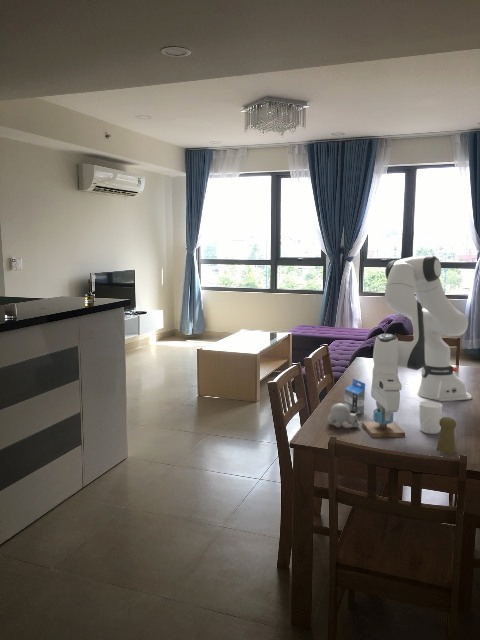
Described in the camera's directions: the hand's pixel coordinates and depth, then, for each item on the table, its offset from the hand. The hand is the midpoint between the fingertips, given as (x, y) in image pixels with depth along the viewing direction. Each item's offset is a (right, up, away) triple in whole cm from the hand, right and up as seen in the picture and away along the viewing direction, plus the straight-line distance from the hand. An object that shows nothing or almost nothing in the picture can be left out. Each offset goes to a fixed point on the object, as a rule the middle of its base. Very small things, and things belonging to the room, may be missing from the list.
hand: (383, 416), depth 194 cm
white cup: (+17, -6, +1) cm, 18 cm away
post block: (0, -5, +1) cm, 6 cm away
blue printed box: (-5, -2, +24) cm, 25 cm away
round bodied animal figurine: (-13, -5, +6) cm, 15 cm away
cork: (+16, -8, -17) cm, 25 cm away
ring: (0, -2, 0) cm, 2 cm away
